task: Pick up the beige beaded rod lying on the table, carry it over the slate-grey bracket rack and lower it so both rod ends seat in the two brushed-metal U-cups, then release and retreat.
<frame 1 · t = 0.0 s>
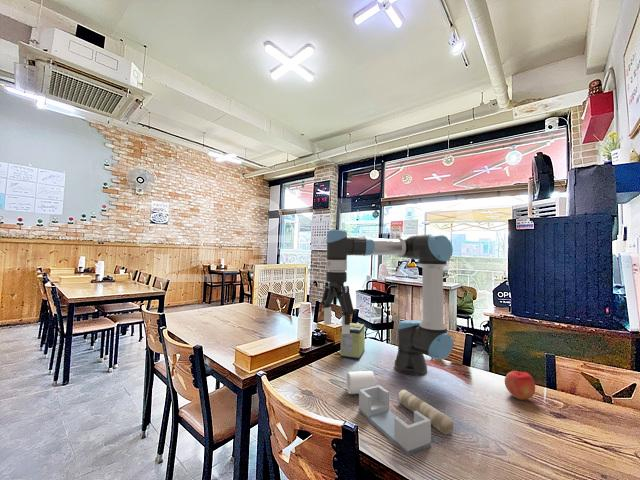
hand: (336, 328, 105), 28 cm above the table, fingers open, 13 cm apart
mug: (359, 392, 114), on the table
beige beaded rod: (423, 410, 97), point 2 cm above the table
bracket rack: (391, 427, 91), on the table
apple: (519, 398, 110), on the table
protein box: (352, 355, 156), on the table
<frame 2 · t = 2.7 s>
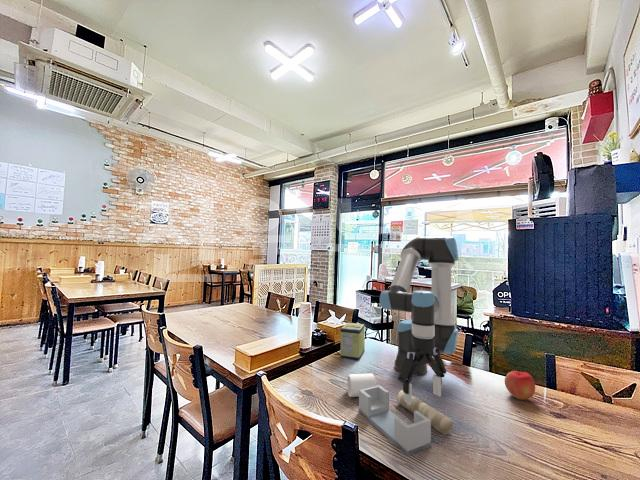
hand: (423, 398, 97), 6 cm above the table, fingers open, 13 cm apart
beige beaded rod: (422, 410, 97), point 2 cm above the table, tilted 11°
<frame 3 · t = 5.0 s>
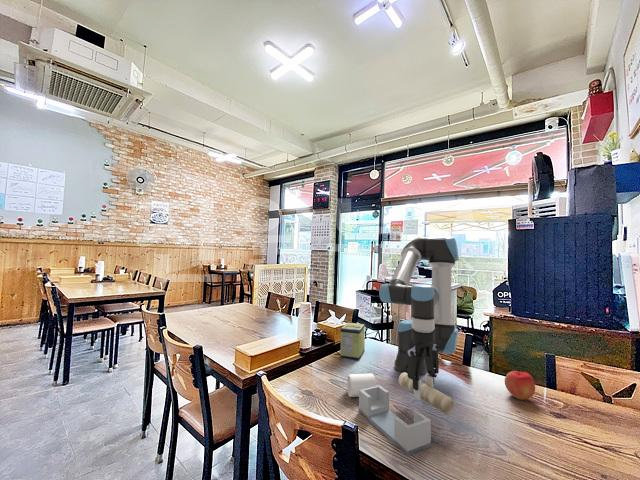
hand: (423, 396, 98), 7 cm above the table, fingers closed on beige beaded rod, 5 cm apart
beige beaded rod: (423, 391, 98), point 8 cm above the table, tilted 26°, touching gripper
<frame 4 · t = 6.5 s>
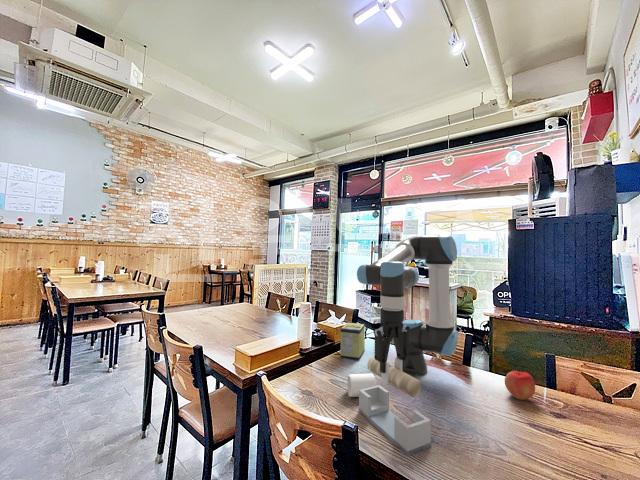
hand: (391, 380, 92), 15 cm above the table, fingers closed on beige beaded rod, 5 cm apart
beige beaded rod: (392, 374, 92), point 17 cm above the table, tilted 24°, touching gripper
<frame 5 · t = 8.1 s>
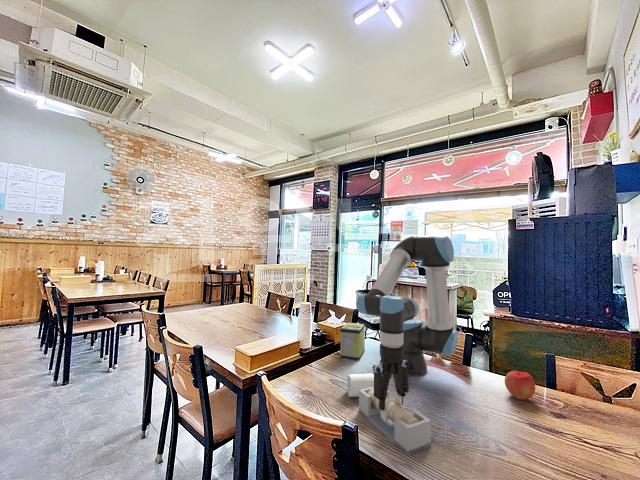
hand: (391, 417, 91), 3 cm above the table, fingers closed on beige beaded rod, 5 cm apart
beige beaded rod: (391, 410, 91), point 5 cm above the table, tilted 26°, touching bracket rack, gripper
when the fingers open (3 cm above the table, at t = 8.5 s): beige beaded rod stays where it is, resting on bracket rack.
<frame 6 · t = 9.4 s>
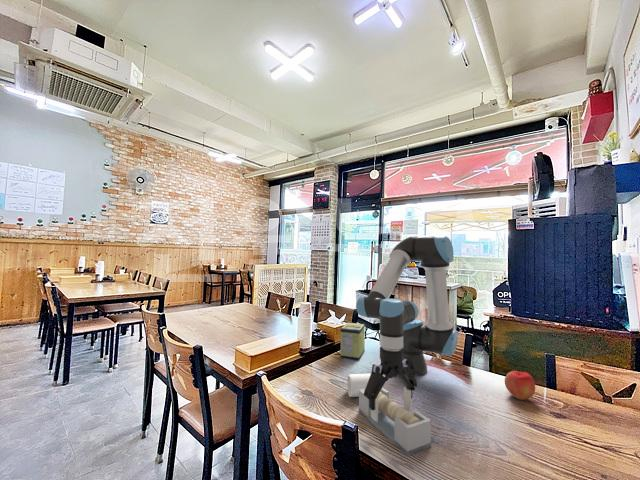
hand: (391, 414, 91), 4 cm above the table, fingers open, 13 cm apart
beige beaded rod: (392, 410, 91), point 5 cm above the table, tilted 17°, touching bracket rack
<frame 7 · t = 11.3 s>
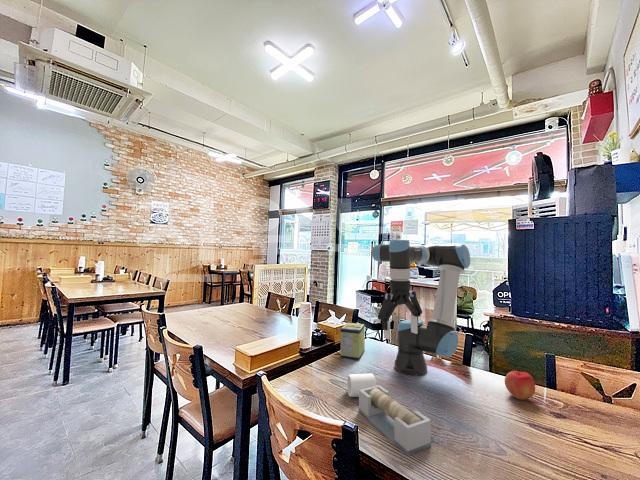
hand: (401, 335, 107), 25 cm above the table, fingers open, 13 cm apart
beige beaded rod: (393, 409, 92), point 5 cm above the table, touching bracket rack
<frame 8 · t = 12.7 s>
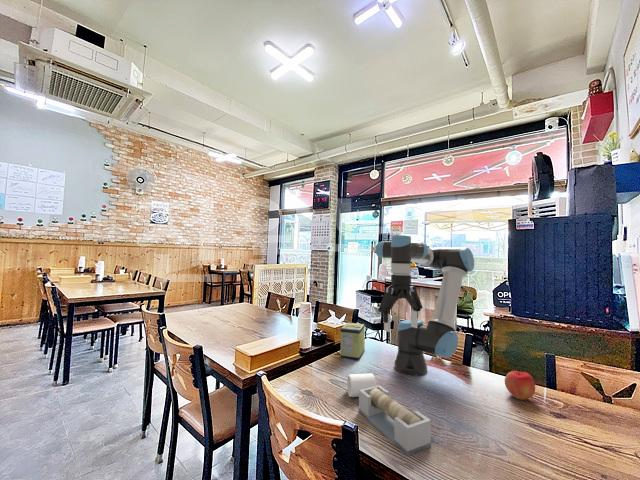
hand: (401, 329, 110), 27 cm above the table, fingers open, 13 cm apart
at the end: beige beaded rod 0.7 cm off-centre on the bracket rack, point 5.5 cm above the bracket rack's base; the gripper is holding nothing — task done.
